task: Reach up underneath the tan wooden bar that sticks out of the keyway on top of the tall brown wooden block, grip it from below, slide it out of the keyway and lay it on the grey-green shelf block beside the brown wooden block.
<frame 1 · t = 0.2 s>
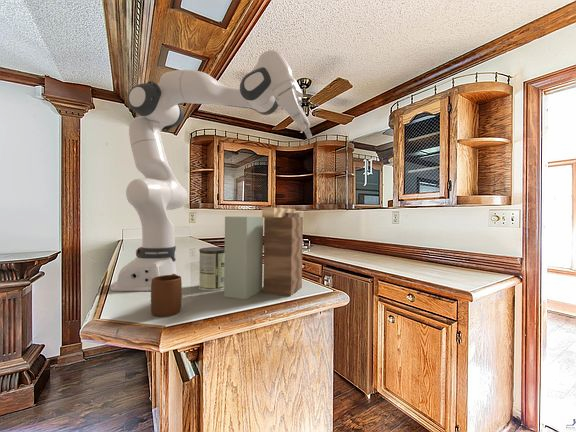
hand: (307, 133, 91), 53 cm above the worktop, tool tilted 25°, fingers open, 8 cm apart
coffee can: (213, 287, 102), on the worktop
shelf block: (243, 293, 95), on the worktop
mug: (168, 310, 78), on the worktop
brown wooden block: (283, 290, 100), on the worktop
tan wooden bar: (280, 217, 96), point 26 cm above the worktop, touching brown wooden block
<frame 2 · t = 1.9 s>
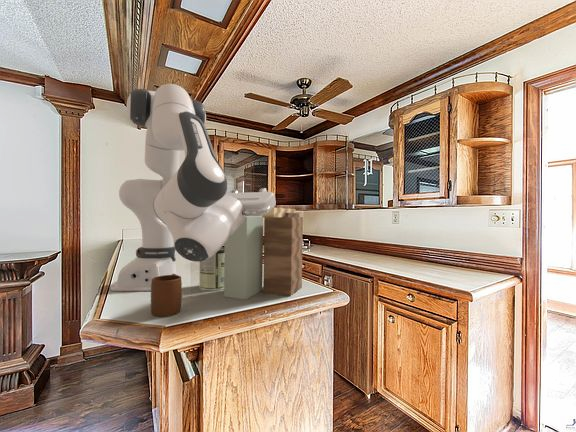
hand: (249, 190, 81), 34 cm above the worktop, tool pointing upward, fingers open, 8 cm apart
nothing on the worktop moved.
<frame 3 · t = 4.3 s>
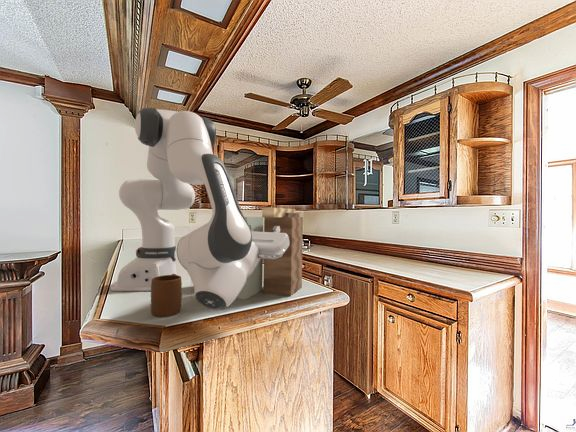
hand: (263, 227, 84), 23 cm above the worktop, tool pointing upward, fingers open, 8 cm apart
nothing on the worktop moved.
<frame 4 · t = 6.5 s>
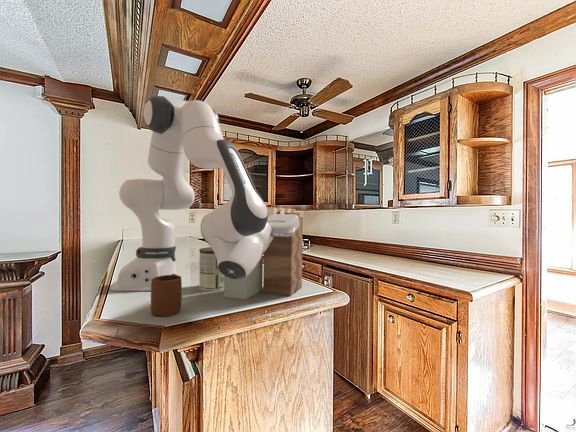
hand: (274, 211, 91), 28 cm above the worktop, tool pointing upward, fingers closed on tan wooden bar, 4 cm apart
tan wooden bar: (280, 217, 96), point 26 cm above the worktop, touching gripper, brown wooden block
everything else where it was.
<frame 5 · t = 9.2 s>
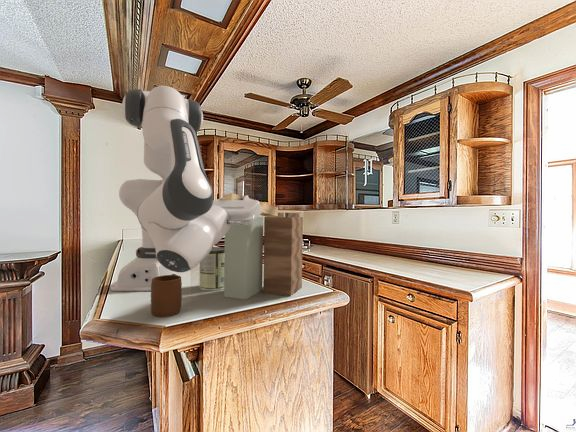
hand: (236, 197, 81), 32 cm above the worktop, tool pointing upward, fingers closed on tan wooden bar, 5 cm apart
tan wooden bar: (251, 211, 86), point 28 cm above the worktop, tilted 11°, touching gripper
everything else where it was.
when the fingers open (29 cm above the worktop, at t = 11.9 s): tan wooden bar stays where it is, resting on shelf block.
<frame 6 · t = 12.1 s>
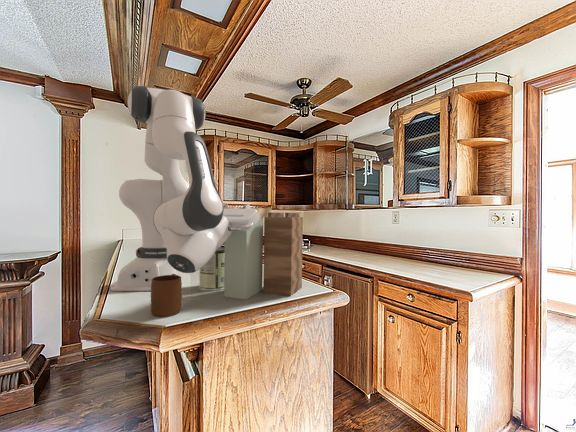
hand: (237, 206, 90), 29 cm above the worktop, tool pointing upward, fingers open, 6 cm apart
tan wooden bar: (249, 216, 95), point 26 cm above the worktop, touching shelf block
everything else where it was.
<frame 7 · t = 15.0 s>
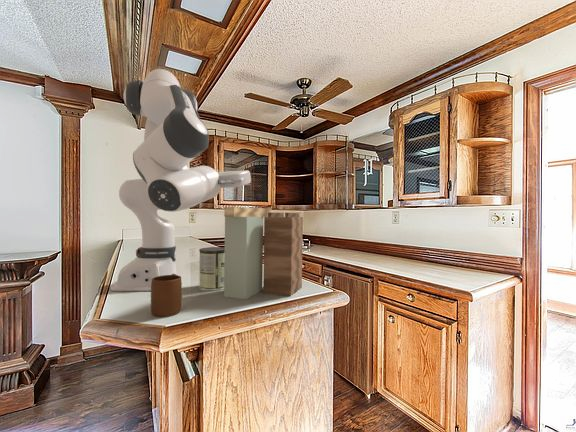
hand: (226, 176, 85), 38 cm above the worktop, tool pointing upward, fingers open, 8 cm apart
nothing on the worktop moved.
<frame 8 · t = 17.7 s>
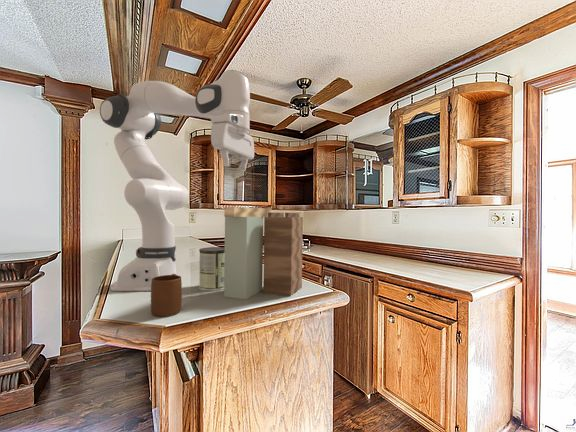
hand: (234, 168, 88), 41 cm above the worktop, tool pointing down, fingers open, 8 cm apart
nothing on the worktop moved.
at the end: tan wooden bar inside the target area on the shelf block (1.5 cm from its centre), point 26.0 cm above the shelf block's base; tan wooden bar moved 10.4 cm from its start; the gripper is holding nothing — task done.
